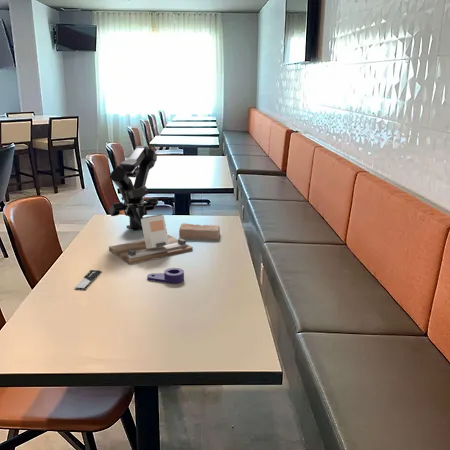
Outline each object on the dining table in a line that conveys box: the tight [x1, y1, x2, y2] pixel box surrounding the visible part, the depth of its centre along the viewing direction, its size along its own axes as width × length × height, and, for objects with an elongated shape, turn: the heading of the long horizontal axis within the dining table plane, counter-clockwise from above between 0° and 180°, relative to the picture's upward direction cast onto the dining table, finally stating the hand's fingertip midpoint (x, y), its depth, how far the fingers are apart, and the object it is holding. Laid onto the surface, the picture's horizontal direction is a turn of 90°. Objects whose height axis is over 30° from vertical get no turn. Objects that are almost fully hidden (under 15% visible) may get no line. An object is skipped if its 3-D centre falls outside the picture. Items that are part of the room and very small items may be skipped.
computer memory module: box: [74, 269, 103, 291], centre depth 151 cm, size 15×1×4 cm
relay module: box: [141, 213, 169, 249], centre depth 173 cm, size 6×7×12 cm
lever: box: [146, 267, 185, 285], centre depth 153 cm, size 12×6×3 cm, turn 84°
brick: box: [178, 222, 221, 241], centre depth 195 cm, size 17×8×5 cm, turn 89°
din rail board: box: [108, 234, 194, 265], centre depth 178 cm, size 18×26×4 cm
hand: (141, 225), depth 182 cm, fingers closed
